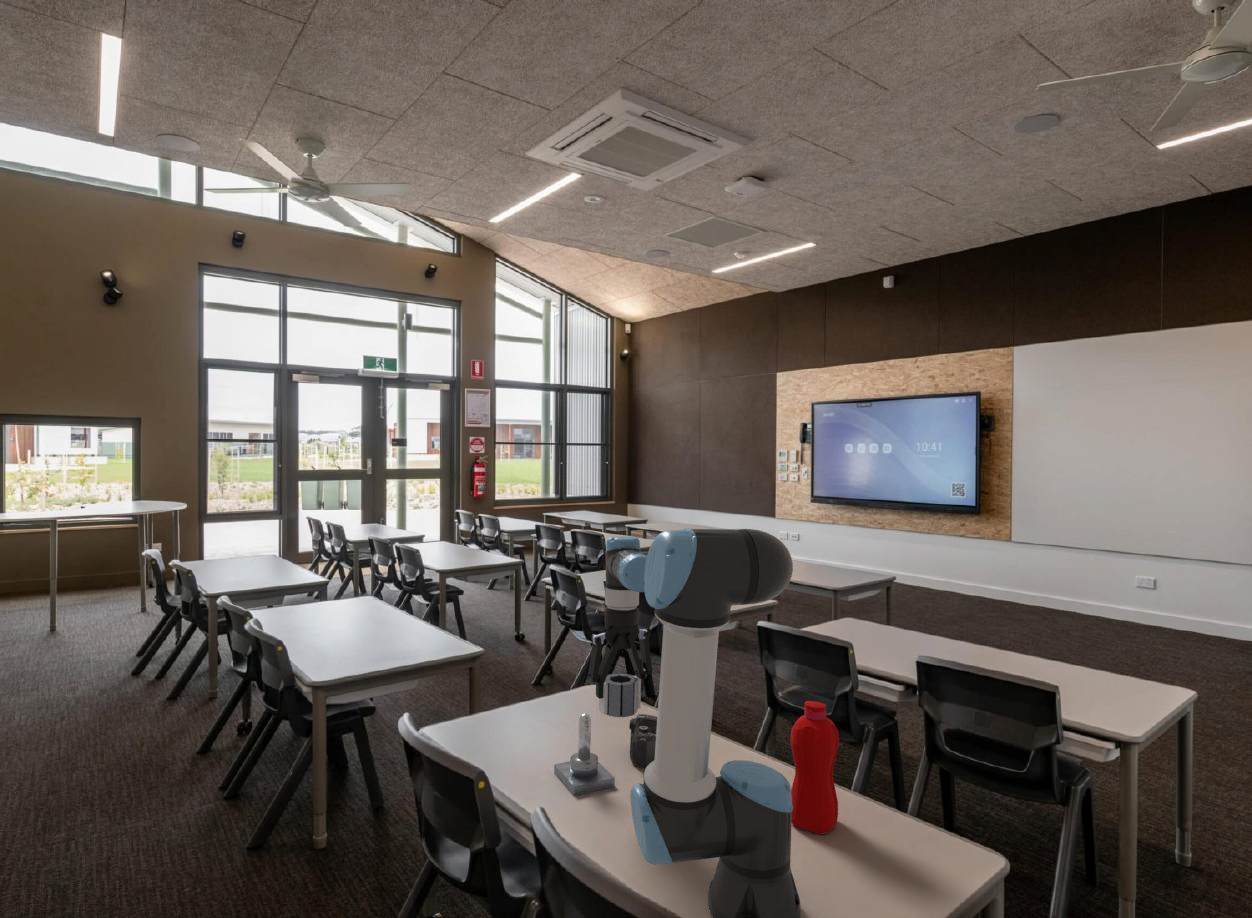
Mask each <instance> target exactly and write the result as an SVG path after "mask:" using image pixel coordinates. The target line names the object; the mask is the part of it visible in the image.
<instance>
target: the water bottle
mask: <svg viewBox="0 0 1252 918" xmlns="http://www.w3.org/2000/svg"><path fill="white" fill-rule="evenodd" d="M839 736H840V735H839V730H838V729H837V727H836V724H835V722H833V720H831V719H830V718H828V717H827V704H825V703H824V702H823V703H822V702H818V701H814V700H813V701H812V700H806V701H805V702H804V714H803V715H801V716H800V717H799V718H798V719H797V720H796V721H795V722H794V724H793V725H792V727H791V732H790V740H789V742H790V747H791V751H792V757H793V761H794V776H793V777H794V778H793V781H792V785H791V795H792V805H793V811H792V821H791V825H793V826H794V827H796V828H798V829H802V830H805V831H809V832H813V833H815V834H818V835H822V834H828V833H830V832H831V831H833V830H834V827H835V826H836V824H837V823H838V817H839V800H838V796H837V791H836V790H837V789H836V787H835V780H834V777H833V776H834V766H835V761H836V758H837V753H838V750H839V746H840V745H839V744H840V737H839Z"/></svg>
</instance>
